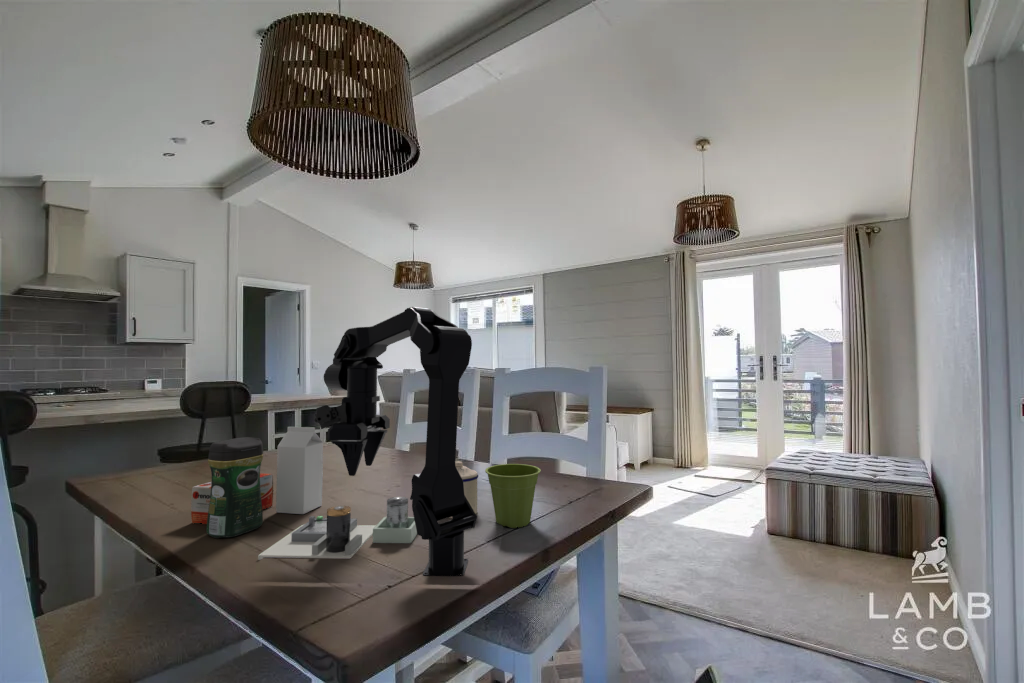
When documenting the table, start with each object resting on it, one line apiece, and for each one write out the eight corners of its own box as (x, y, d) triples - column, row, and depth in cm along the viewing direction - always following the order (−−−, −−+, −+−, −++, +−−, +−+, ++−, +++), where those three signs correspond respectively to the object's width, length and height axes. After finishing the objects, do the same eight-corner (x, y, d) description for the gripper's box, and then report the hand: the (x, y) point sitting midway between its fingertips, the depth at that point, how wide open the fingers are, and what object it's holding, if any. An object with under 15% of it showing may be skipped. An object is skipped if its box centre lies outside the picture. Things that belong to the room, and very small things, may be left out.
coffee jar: (243, 521, 103) (245, 434, 104) (269, 526, 100) (271, 436, 101) (197, 536, 94) (200, 440, 95) (224, 542, 91) (227, 443, 92)
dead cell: (404, 539, 91) (405, 501, 91) (383, 539, 91) (384, 500, 91) (410, 532, 95) (410, 495, 95) (389, 532, 95) (390, 495, 95)
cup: (411, 545, 89) (411, 529, 89) (372, 545, 89) (372, 528, 89) (420, 532, 96) (420, 517, 96) (384, 531, 96) (384, 516, 96)
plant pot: (473, 523, 102) (473, 469, 102) (513, 511, 110) (512, 461, 111) (513, 537, 93) (513, 478, 94) (552, 523, 102) (552, 469, 102)
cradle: (335, 536, 90) (335, 522, 90) (301, 536, 90) (302, 522, 90) (348, 525, 96) (348, 512, 96) (316, 524, 97) (317, 511, 97)
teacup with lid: (484, 510, 111) (484, 459, 111) (469, 522, 102) (469, 467, 103) (436, 506, 114) (436, 456, 115) (418, 517, 106) (418, 463, 106)
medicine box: (245, 504, 116) (246, 471, 117) (273, 507, 114) (274, 472, 115) (189, 524, 102) (190, 486, 102) (220, 527, 100) (222, 488, 100)
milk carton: (303, 515, 107) (305, 429, 108) (275, 513, 109) (277, 428, 110) (322, 506, 114) (323, 425, 115) (295, 504, 116) (297, 425, 117)
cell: (344, 552, 83) (345, 510, 84) (322, 552, 84) (323, 510, 84) (353, 544, 87) (354, 504, 88) (331, 543, 88) (332, 503, 88)
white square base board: (350, 561, 82) (350, 545, 82) (258, 559, 82) (258, 543, 83) (379, 529, 98) (379, 516, 98) (302, 528, 98) (302, 515, 99)
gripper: (340, 389, 106) (339, 460, 105) (300, 394, 87) (298, 481, 87) (390, 389, 106) (389, 461, 105) (360, 394, 87) (359, 481, 86)
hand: (360, 470), depth 96 cm, fingers open, 9 cm apart
